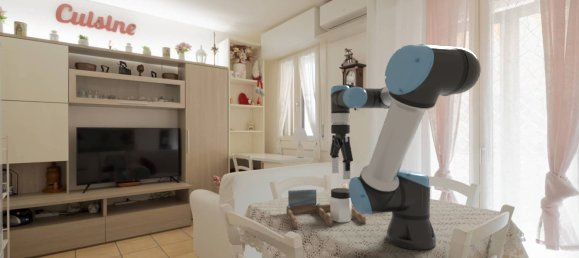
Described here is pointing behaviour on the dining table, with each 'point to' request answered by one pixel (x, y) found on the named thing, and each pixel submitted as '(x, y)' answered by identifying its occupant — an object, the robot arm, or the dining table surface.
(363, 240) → the dining table surface
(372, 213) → the robot arm
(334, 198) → the jar
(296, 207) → the wooden divider rails
